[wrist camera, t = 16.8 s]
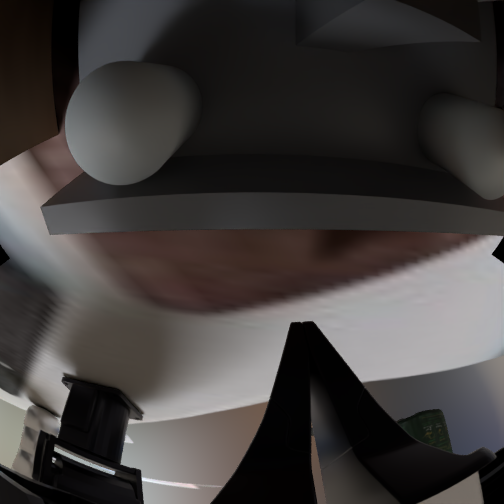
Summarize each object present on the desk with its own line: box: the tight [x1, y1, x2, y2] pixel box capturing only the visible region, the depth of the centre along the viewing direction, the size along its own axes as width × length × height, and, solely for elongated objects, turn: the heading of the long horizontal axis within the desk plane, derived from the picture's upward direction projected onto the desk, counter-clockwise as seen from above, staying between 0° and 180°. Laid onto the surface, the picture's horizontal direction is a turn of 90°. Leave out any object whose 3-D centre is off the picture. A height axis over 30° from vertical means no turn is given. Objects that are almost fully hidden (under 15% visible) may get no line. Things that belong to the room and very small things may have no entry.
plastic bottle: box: [11, 405, 60, 479], centre depth 21 cm, size 6×7×20 cm
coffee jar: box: [396, 409, 453, 453], centre depth 20 cm, size 10×8×19 cm
